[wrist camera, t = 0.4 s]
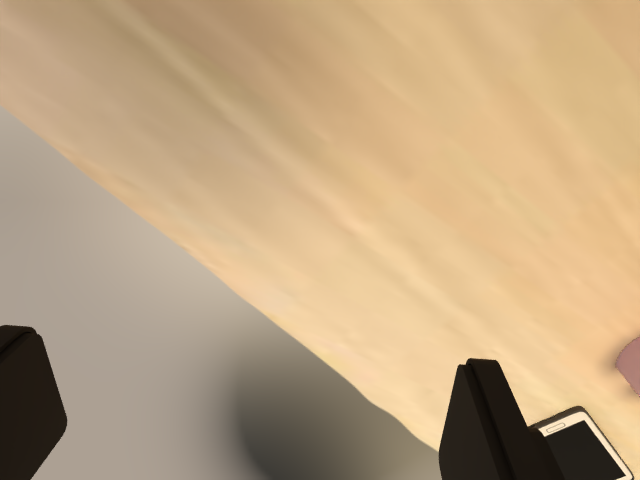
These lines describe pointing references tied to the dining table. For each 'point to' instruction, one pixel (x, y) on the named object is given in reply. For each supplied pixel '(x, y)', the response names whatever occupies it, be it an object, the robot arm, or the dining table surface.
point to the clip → (631, 364)
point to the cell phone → (582, 447)
